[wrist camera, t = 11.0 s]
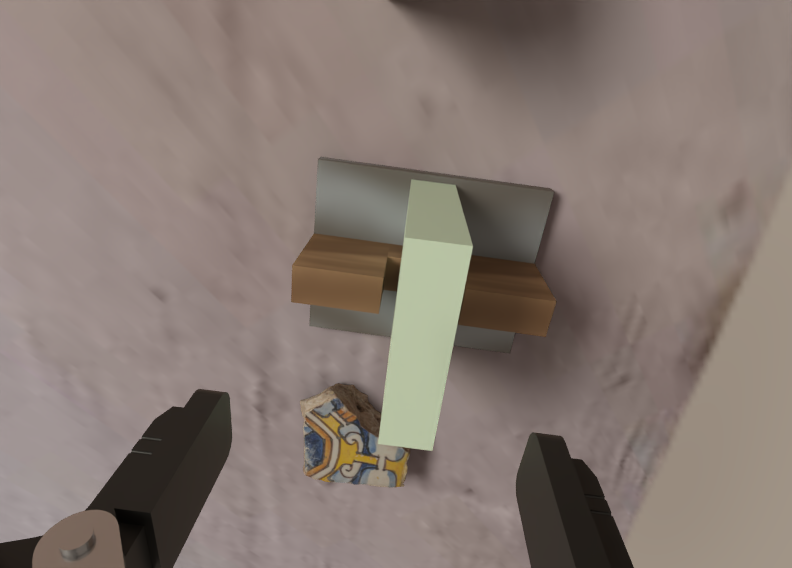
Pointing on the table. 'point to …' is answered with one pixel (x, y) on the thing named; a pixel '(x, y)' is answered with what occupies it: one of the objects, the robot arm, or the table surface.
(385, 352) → the table surface
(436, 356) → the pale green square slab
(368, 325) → the slotted wooden stand
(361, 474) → the ceramic tile fragment
